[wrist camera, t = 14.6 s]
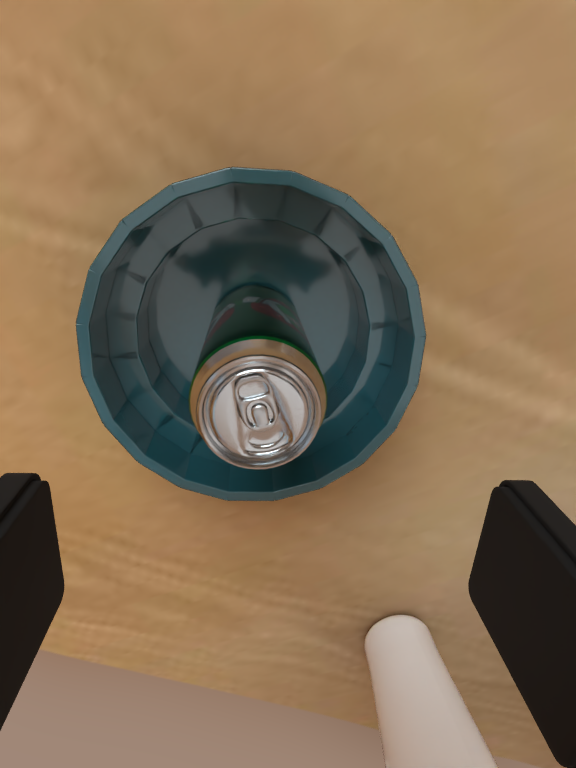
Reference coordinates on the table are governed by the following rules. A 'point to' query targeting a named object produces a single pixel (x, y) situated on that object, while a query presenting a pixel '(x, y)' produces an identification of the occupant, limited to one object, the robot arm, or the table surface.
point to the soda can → (257, 381)
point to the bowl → (216, 280)
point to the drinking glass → (419, 701)
